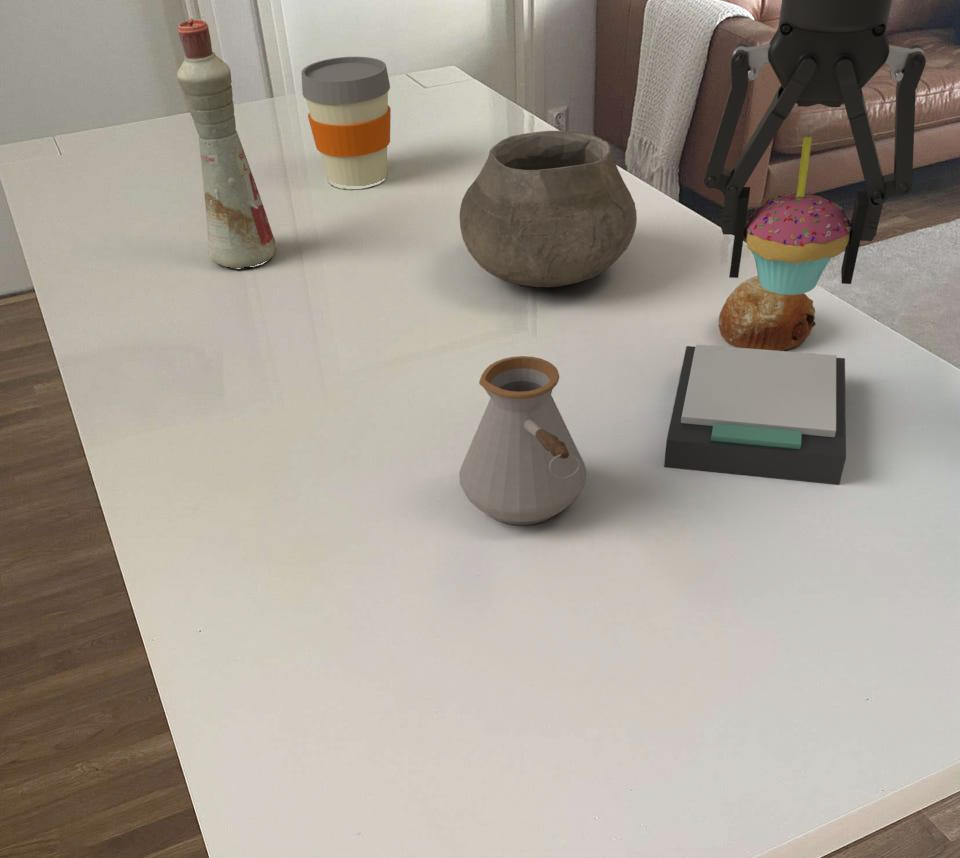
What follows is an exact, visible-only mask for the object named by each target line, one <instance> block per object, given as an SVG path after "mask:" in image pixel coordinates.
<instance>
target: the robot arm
mask: <svg viewBox="0 0 960 858" xmlns="http://www.w3.org/2000/svg"><path fill="white" fill-rule="evenodd" d="M892 3H893V0H781V3H780V11H779V18H778V26H777V28H776V31H775V34H774V35H773V37H772V38H771V39H770V42H769V43H767V44H761V45H755V46H748V45H747V44H746V43H743V42H742V43H738V44H737V45H736V46H735V47H734V48H733V51H732V56H731V59H730V60H731V61H730V71H731V72H730V73H731V74H730V75H731V85H730V88H729V92H728V96H727V98H726V101H725V104H724V108H723V112H722V115H721V119H720V122H719V124H718V125H719V126H718V128H717V132H716V135H715V138H714V142H713V145H712V149H711V152H710V155H709V158H708V162H707V164H706V165H707V166H706V169H705V173H704V177H703V178H704V179H703V184H704V186H705V187H706V188H708V189H716V190H718V191H720V192H721V193H722V194H723V196H724V201H723V210H722V217H721V218H722V219H721V227H720V229H721V232H722V235H730V236H733V238H734V239H733V244H732V253H731V260H730V269H729V277H728V278H733V279H739V276H740V268H741V262H742V261H741V260H742V254H743V245H744V240H745V239H744V231H745V228H746V225H747V215H748V208H749V201H750V192H751V186H746V185H747V182H748V181H749V179H750V177H751V176H752V174H753V172H754V171H755V169H756V167H758V165H759V163H760V161H761V159H762V158H763V156H764V154H765V153H766V151H767V149H768V147H770V144H771V143H772V141H773V139H774V138H775V137H776V135H777V133H778V131H779V130H780V128H781V127H782V124H783V123H784V121H785V120H786V119H787V118H788V116H789V115H790V113H791V112H792V110H793V108H794V107H795V105H797V107H801V108H802V107H805V108H806V107H808V108H809V107H813V106H816V105H822V106H824V107H828V108H841V106H842V105H844V108H845V111H846V115H847V120H848V122H849V125H850V129H851V133H852V136H853V141H854V144H855V149H856V152H857V156H858V160H859V164H860V167H861V173H862V175H863V179H864V183H865V187H866V190H865V191H864V190H856V195H855V200H854V206H853V211H852V216H851V220H852V223H851V222H850V223H851V227H852V229H851V230H850V238H849V241H848V244H847V246H846V248H845V250H844V254H843V259H842V263H841V269H840V275H841V278H840V279H841V284H842V285H852V283H853V282H852V281H853V277H854V273H855V267H856V262H857V258H858V253H859V249H860V244H861V242H873V240H874V239H875V237H876V236H877V232H878V227H879V222H880V220H881V219H880V217H881V215H882V210H883V205H884V204H885V203H886V201H887V200H888V199H889V198H892V197H894V196H897V195H899V196H907V195H908V194H909V193H910V192H911V191H912V188H913V176H914V175H913V174H914V173H913V172H914V145H915V123H916V122H915V120H916V119H915V118H916V91H917V88H918V85H919V83H920V80H921V77H922V75H923V72H924V69H925V67H926V63H927V60H926V55H925V52H924V48H923V47H922V46H921V45H920V44H914V45H911V46H910V47H909V48H908V47H902V46H897V45H891V44H890V42H889V39H888V35H887V30H888V29H887V28H888V23H889V19H890V14H891V13H890V12H891V8H892ZM767 63H769V64H770V67H771V68H772V70H773V72H774V74H775V76H776V78H777V80H778V82H779V84H780V86H779V87H778V89H777V90H776V93H775V94H774V96H773V98H772V100H771V102H770V104H769V106H768V108H767V109H766V111H765V112H764V115H762V118H761V120H760V121H759V123H758V125H757V126H756V128H755V130H754V131H753V132H752V135H751V137H750V138H749V140H748V141H747V143H746V145H745V147H744V148H743V150H742V152H741V153H740V155H739V157H738V159H737V160H736V162H735V164H734V165H733V167H732V169H731V170H729V169H727V168H725V164H726V161H727V157H728V154H729V152H730V148H731V145H732V141H733V139H734V136H735V131H736V129H737V126H738V123H739V119H740V116H741V113H742V110H743V106H744V103H745V100H746V97H747V93H748V86H749V82H751V81H754V80H756V79H757V78H758V77H759V75H760V72H761V69H762V67H763V66H764V65H765V64H767ZM884 64H885V65H887V66H888V67H889V76H890V80H891V81H892V82H893V83H896V85H895V108H894V109H895V111H894V112H895V114H894V117H895V118H894V149H893V150H894V153H893V154H894V155H893V173H890V174H889V173H888V174H886V175H883V170H882V166H881V162H880V159H879V154H878V150H877V146H876V142H875V138H874V135H873V131H872V127H871V122H870V118H869V113H868V110H867V106H866V101H865V96H864V93H863V88H864V87H865V86H866V85H867V84H868V82H869V81H870V80H871V79H873V77H874V75H876V74H877V72H878V71H879V70H880V69H881V68H882V67H883V66H884Z"/></svg>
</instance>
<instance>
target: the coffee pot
mask: <svg viewBox="0 0 960 858" xmlns="http://www.w3.org/2000/svg"><path fill="white" fill-rule="evenodd" d="M559 373H560V372H559V370H558V369H557V367H556V366H555V365H554V364H553V363H552V362H550V361H548V360H546V359H543V358H541V357H536V356H525V355H520V356H519V355H518V356H509V357H504V358H502V359H499V360H496V361H494V362H493V363H491V364H489V365H488V366H487V367H486V368H485V369H484V371H483V372H482V374H481V376H480V379H479V381H478V384H479V385H480V386H481V387H482V388H483V389H484V390H485V392H486V393H487V395H488V396H489V401H488V403H487V406H486V408H485V410H484V413H483V415H482V417H481V419H480V422H479V424H478V426H477V429H476V431H475V433H474V436H473V438H472V440H471V443H470V444H469V448H468V450H467V452H466V455H465V457H464V459H463V461H462V464H461V467H460V470H459V485H460V487H461V489H462V491H463V494H464V495H465V496H466V498H467V499H468V501H469V502H470V503H471V504H472V505H473V506H474V507H475V508H476V509H478V510H479V511H481V512H483V513H485V514H486V515H488V516H490V517H491V518H493V519H494V520H497V521H499V522H502V523H505V524H509V525H518V526H525V525H534V524H535V525H536V524H538V523H543V522H545V521H547V520H549V519H552V518H554V517H555V516H556V515H558V514H560V513H561V512H563V511H564V510H565V509H567V508H568V507H569V506H571V505H572V504H573V503H574V502H575V501H576V500H577V498H578V497H579V495H580V493H581V492H582V491H583V488H584V487H585V482H586V478H587V471H586V467H585V462H584V460H583V457H582V456H581V453H580V451H579V449H578V447H577V445H576V443H575V441H574V439H573V436H572V435H571V433H570V430H569V428H568V427H567V425H566V422H565V420H564V418H563V416H562V414H561V413H560V410H559V408H558V406H557V403H556V402H555V400H554V398H553V396H552V393H553V389H555V387H556V386H557V385H558V383H559V380H560V374H559Z"/></svg>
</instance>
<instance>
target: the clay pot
mask: <svg viewBox="0 0 960 858" xmlns="http://www.w3.org/2000/svg"><path fill="white" fill-rule="evenodd" d="M637 221H638V217H637V208H636V203H635V201H634V199H633V197H632V194H631V192H630V190H629V188H628V187H627V185H626V183H625V181H624V179H623V177H622V174H621V172H620V171H619V168H618V166H617V163H616V159H615V156H614V153H613V149H612V145H611V144H610V143H609V142H608V141H607V140H603V138H600V137H597V136H595V135H592V134H587V133H583V132H578V131H569V130H541V131H532V132H527V133H520V134H515V135H511V136H508V137H507V138H504V139H502V140H500V141H499V142H497V143H496V144H494V145H493V146H492V147H491V149H490V150H489V152H488V156H487V159H486V161H485V162H484V164H483V166H482V168H481V170H480V172H479V174H478V175H477V177H476V178H475V180H474V181H473V182H472V183H471V184H470V186H468V188H467V189H466V191H465V193H464V195H463V197H462V200H461V203H460V208H459V227H460V233H461V238H462V241H463V243H464V245H465V247H466V249H467V252H468V253H469V254H470V255H471V257H472V258H473V260H474V261H475V262H476V263H477V264H478V265H479V266H480V267H481V268H482V269H483V270H485V271H486V272H488V273H489V274H491V276H494V277H496V278H498V279H500V280H503V281H506V282H509V283H513V284H517V285H520V286H525V287H533V288H555V287H556V288H557V287H564V286H567V285H573V284H579V283H581V282H585V281H588V280H590V279H592V278H594V277H597V276H598V275H600V274H602V273H604V272H605V271H606V270H608V269H609V268H610V267H611V266H612V265H614V263H616V262H617V261H618V259H619V258H620V257H621V256H622V255H623V254H624V252H625V251H627V249H628V247H629V246H630V243H631V242H632V239H633V237H634V234H635V232H636V228H637V223H638V222H637Z"/></svg>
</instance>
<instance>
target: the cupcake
mask: <svg viewBox="0 0 960 858" xmlns="http://www.w3.org/2000/svg"><path fill="white" fill-rule="evenodd" d="M810 132H811V125H810V124H808V125H807V129H806V136H803V139H802V147H801V153H800V154H801V155H800V162H799V169H798V180H797V186H796V192H794V193H784V194H783V195H778V196H776V197H775V198H774V197H771V198H770V199H767V200H766V201H765V202H764V203H762V204H760V205H759V207H757V208H754V211H753V212H752V213H749V215H748V219H747V221H746V224H745V231H744V239H743V240H744V241H745V243H746V246H747V249H748V250H749V251H751V254H752V256H753V257H754V261H755V267H756V272H757V276H758V279H759V283H760V285H761V286H762V287H763V288H764V289H766V290H768V291H770V292H773V293H777V294H783V295H797V294H803V293H804V294H806V293H809V292H811V291H812V290H814V289H815V288H816V286H817V284H818V282H819V280H820V277H821V276H822V274H823V272H824V270H825V269H826V267H827V266H828V264H829V262H830V261H831V259H832V258H835V257H838V256H839V255H841V254H843V252H845V249H846V246H847V244H848V241H849V238H850V230H851V229H852V227H851V223H852V220H851V219H852V218H851V219H849V217H848V216H847V214H846V213H845V210H844V208H843V207H842V206H839V204H837V203H836V202H834V201H833V200H830V198H828V197H827V198H824V197H823V196H821V195H818V194H814V193H813V194H808V193H806V187H807V181H808V180H807V179H808V173H809V164H810V157H811V148H812V143H813V142H812V141H813V137H812V136H810Z"/></svg>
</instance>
